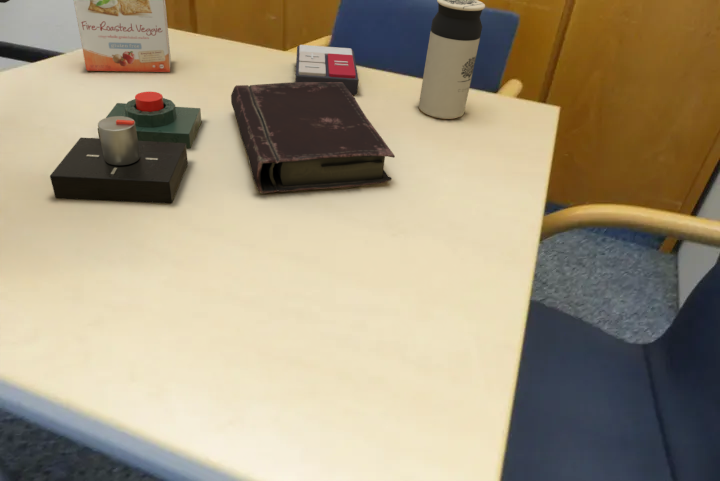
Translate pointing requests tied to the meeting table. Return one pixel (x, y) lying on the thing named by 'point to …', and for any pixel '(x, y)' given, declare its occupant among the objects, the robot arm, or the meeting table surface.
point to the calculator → (327, 66)
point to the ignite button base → (162, 122)
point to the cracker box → (124, 35)
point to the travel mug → (451, 58)
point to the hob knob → (119, 140)
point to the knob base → (121, 173)
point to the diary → (307, 137)
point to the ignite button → (149, 101)
